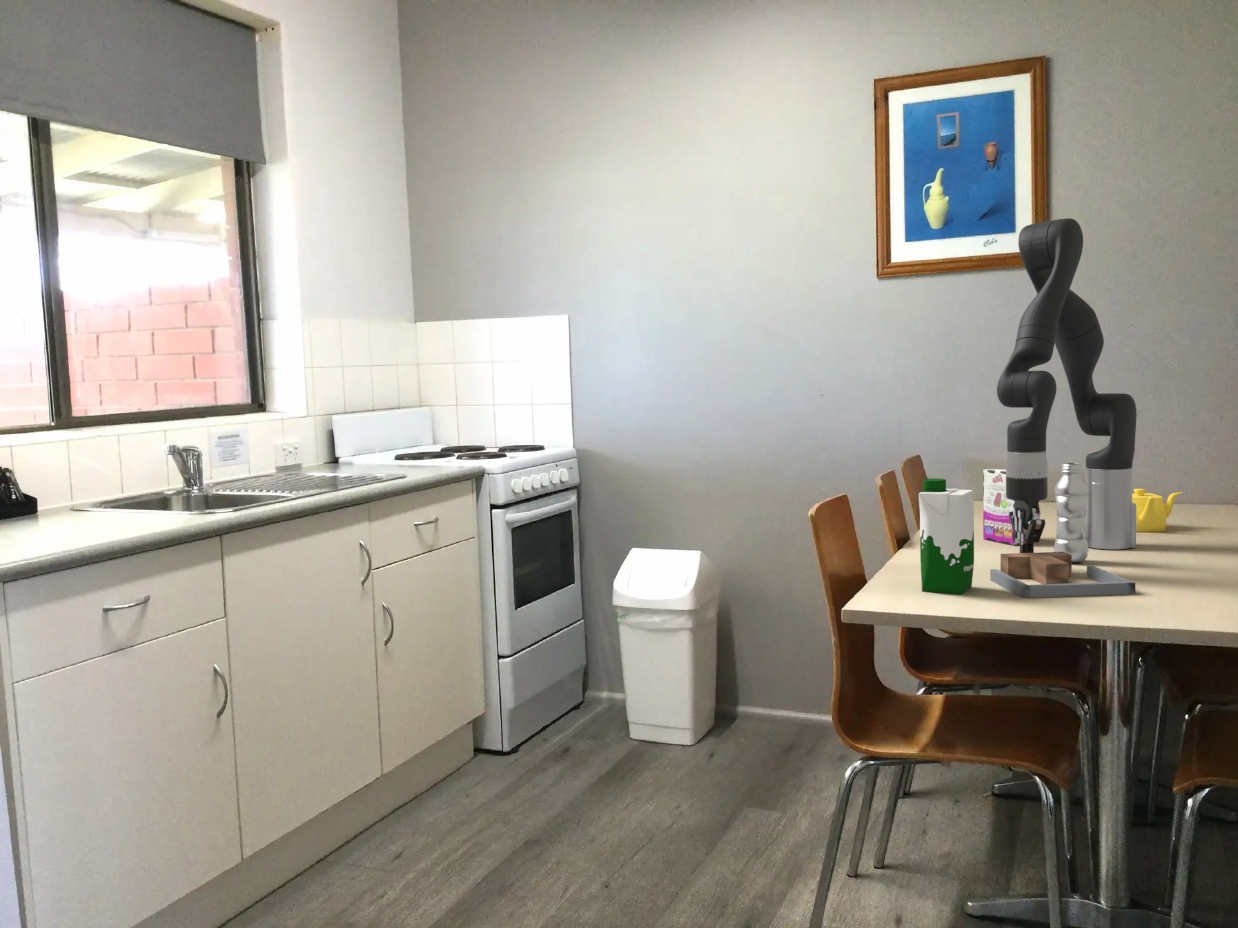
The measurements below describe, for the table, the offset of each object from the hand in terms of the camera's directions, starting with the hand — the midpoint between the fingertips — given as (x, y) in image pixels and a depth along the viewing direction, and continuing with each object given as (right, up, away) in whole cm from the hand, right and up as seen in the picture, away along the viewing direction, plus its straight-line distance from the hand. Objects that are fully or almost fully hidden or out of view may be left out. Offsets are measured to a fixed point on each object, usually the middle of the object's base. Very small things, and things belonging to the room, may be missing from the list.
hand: (1026, 562), depth 207 cm
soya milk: (-20, -4, -14) cm, 24 cm away
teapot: (+45, +3, +47) cm, 65 cm away
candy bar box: (+9, +1, +35) cm, 36 cm away
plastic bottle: (+12, -1, +8) cm, 15 cm away
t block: (0, -2, -8) cm, 8 cm away
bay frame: (0, -3, -15) cm, 15 cm away
